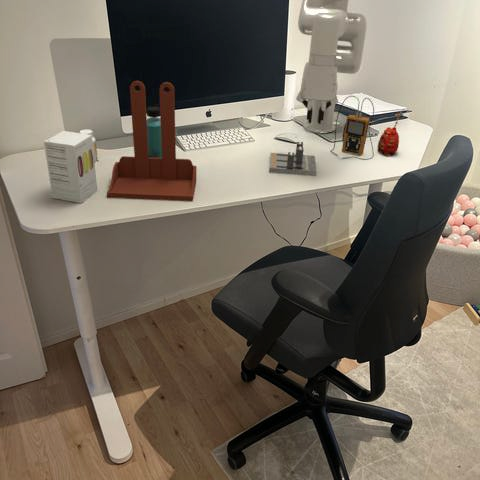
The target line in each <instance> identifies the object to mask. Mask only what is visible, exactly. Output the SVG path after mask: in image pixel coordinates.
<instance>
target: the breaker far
mask: <svg viewBox="0 0 480 480" xmlns="http://www.w3.org/2000/svg"><path fill="white" fill-rule="evenodd" d="M295 147H296V149H295V154H297V147H303V148H304V141H301V140H298V141H296V146H295Z"/></svg>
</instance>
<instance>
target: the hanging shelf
mask: <svg viewBox="0 0 480 480" xmlns="http://www.w3.org/2000/svg"><path fill="white" fill-rule="evenodd" d="M136 87H139V89H140V90H136ZM165 88H168V89H169V91H165ZM158 92H159V108H160V116H159V118H160V120H161V147H162V158H151V157H149V155H148V136H147V119H148V118H147V117H148V116H147V104H146V103H147V101H146V100H147V99H146V87H145V85H144V83H143V81H139V80H136V81H132V83H130V86H129V95H130V110H131V123H132V126H131V127H132V140H133V153H134V156H126V155H125V156H124V155H123V156H121V157H120V158H119V161H115V163H114V165H113V167H112V172H111V179H110V182H109V183H110V185H109V187H108V188H107V191H106V198H108V199H127V200H128V199H129V200H130V199H131V200H152V201H172V202H173V201H175V202H177V201H178V202H194V195H195V192H196V185H197V165H194V164H193V162H192V160H191V159H188V158H177V150H176V112H175V111H176V109H175V107H176V105H175V101H176V100H175V99H176V98H175V87H174V85H173V84H172V83H171V82H168V81H165V82H163V83H161V84H160V86H159V89H158Z"/></svg>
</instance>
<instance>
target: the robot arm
mask: <svg viewBox="0 0 480 480" xmlns="http://www.w3.org/2000/svg"><path fill="white" fill-rule="evenodd" d="M348 5H349V0H302V2H301V7H300V8H299V9H300V10H299V15H298V18H297V19H298V20H297V21H298V22H297V25H298V30H299V32H300V33H301V34H302V35H306V36H311V38H310V47H309V56H308V62H305V65H304V68H303V72H302V78H301V84H300V90H299V92H298V94H297V96H296V101H297V102H299V103H301V104H302V105H304V107H305V108H306V110H307V111H306V121H305V122H304V123H303V125H302V126H303V130H305V131H307V132H309V133H314V134H319V133H320V132H330V131H333V130H335V128H336V129H337V125H336V124H333V122H334V114H335V108H336V104H338V103H339V99H338V96H337V94H338V93H337V92H338V73H339V74H348V75H349V74H350V75H351V74H357V73H358V72H359V70H360V67H361V64H362V60H363V52H364V47H365V46H364V45H365V39H366V34H367V33H366V32H367V31H366V30H367V18H366V17H365V15H364V14H362V13H357V12H348ZM339 42H344V43H345V42H347V43H350V45H345V44H344V45H343V44H339Z"/></svg>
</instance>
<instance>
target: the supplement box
mask: <svg viewBox="0 0 480 480" xmlns="http://www.w3.org/2000/svg"><path fill="white" fill-rule="evenodd" d="M92 137H93V136H92V135H88V134H81V133H79V132H73V131H67V130H61V131H60V132H58V133H57V134H55V135H53V136H52V137H50V138H47V139H46V140H44V141H43V146H44V152H45V157H46V159H45V160H46V164H47V169H48V177H49V183H50V184H49V185H50V189H51V195H52V199H56V200H62V201H68V202H73V203H79V204H82V203H83V202H85V201H86V200H87V199H88V198H90V197H91V196H92V195H93V194H95V193H96V192H97V191H98V182H97V175H96V164H95V163H96V162H94V153H93V144H92Z"/></svg>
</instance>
